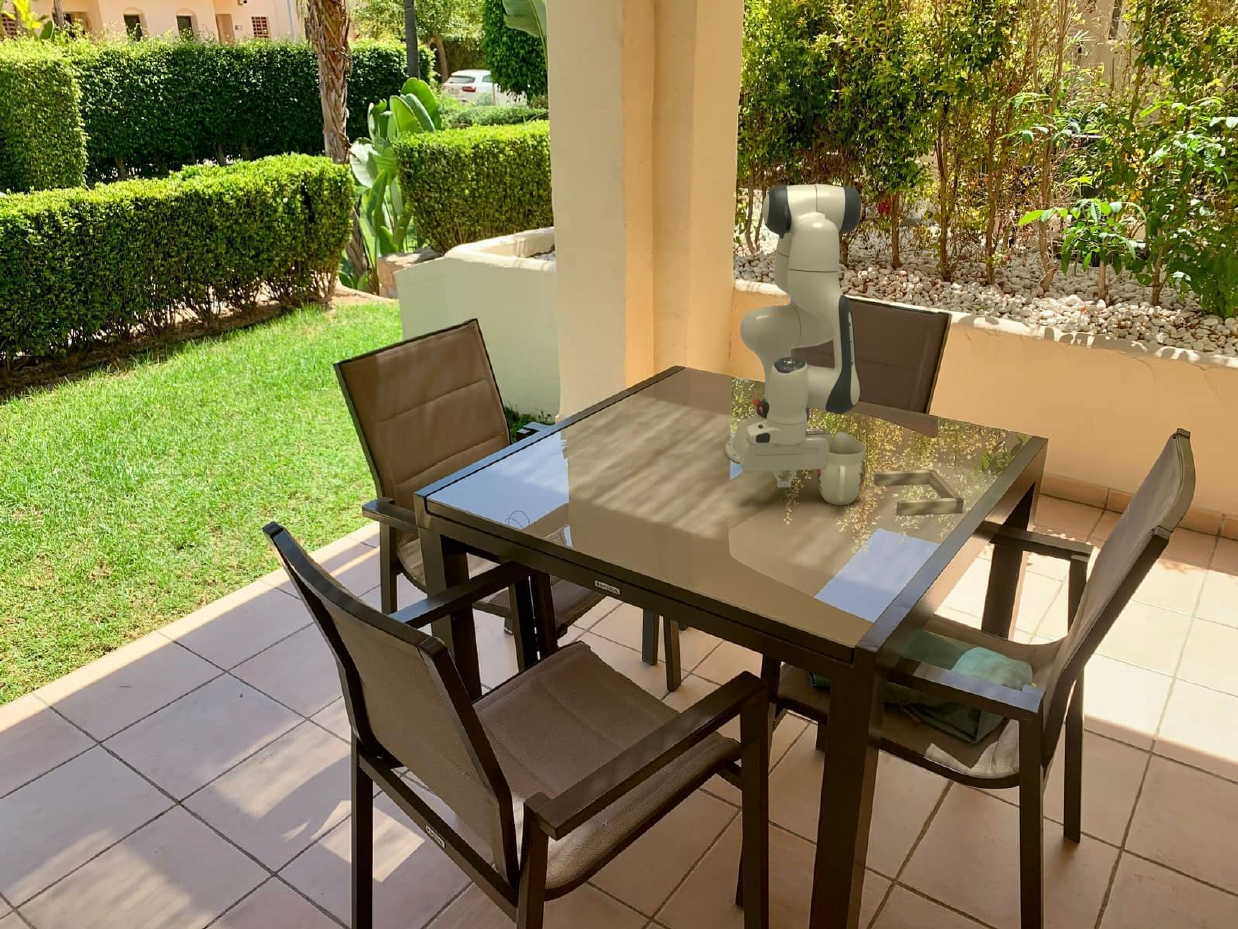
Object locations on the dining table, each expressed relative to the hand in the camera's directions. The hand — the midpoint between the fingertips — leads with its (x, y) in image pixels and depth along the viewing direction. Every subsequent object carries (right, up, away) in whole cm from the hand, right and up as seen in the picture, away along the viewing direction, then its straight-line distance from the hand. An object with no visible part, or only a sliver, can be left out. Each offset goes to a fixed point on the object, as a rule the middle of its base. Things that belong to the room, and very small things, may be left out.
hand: (783, 486), depth 213 cm
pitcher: (+13, -3, +2) cm, 14 cm away
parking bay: (+31, -3, +3) cm, 31 cm away
